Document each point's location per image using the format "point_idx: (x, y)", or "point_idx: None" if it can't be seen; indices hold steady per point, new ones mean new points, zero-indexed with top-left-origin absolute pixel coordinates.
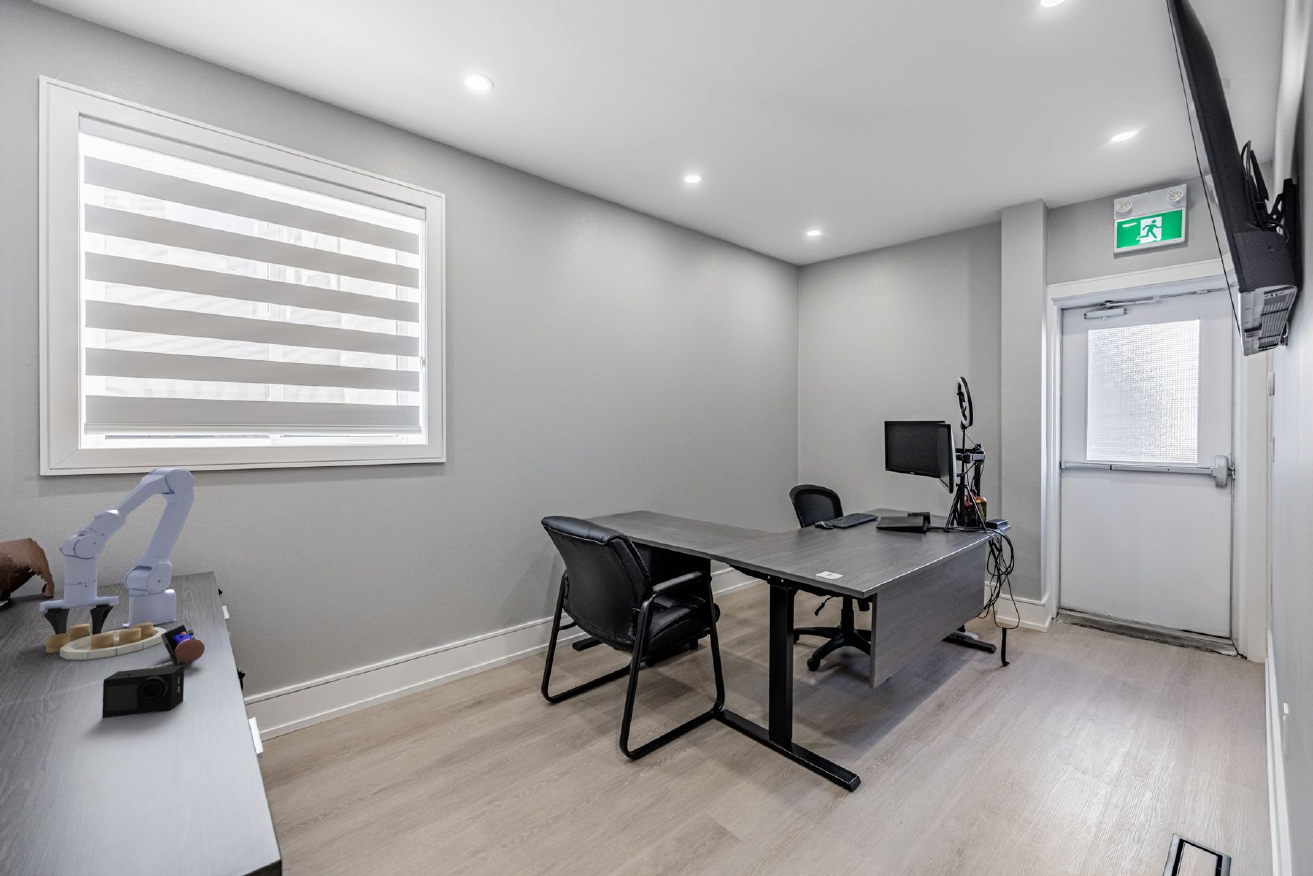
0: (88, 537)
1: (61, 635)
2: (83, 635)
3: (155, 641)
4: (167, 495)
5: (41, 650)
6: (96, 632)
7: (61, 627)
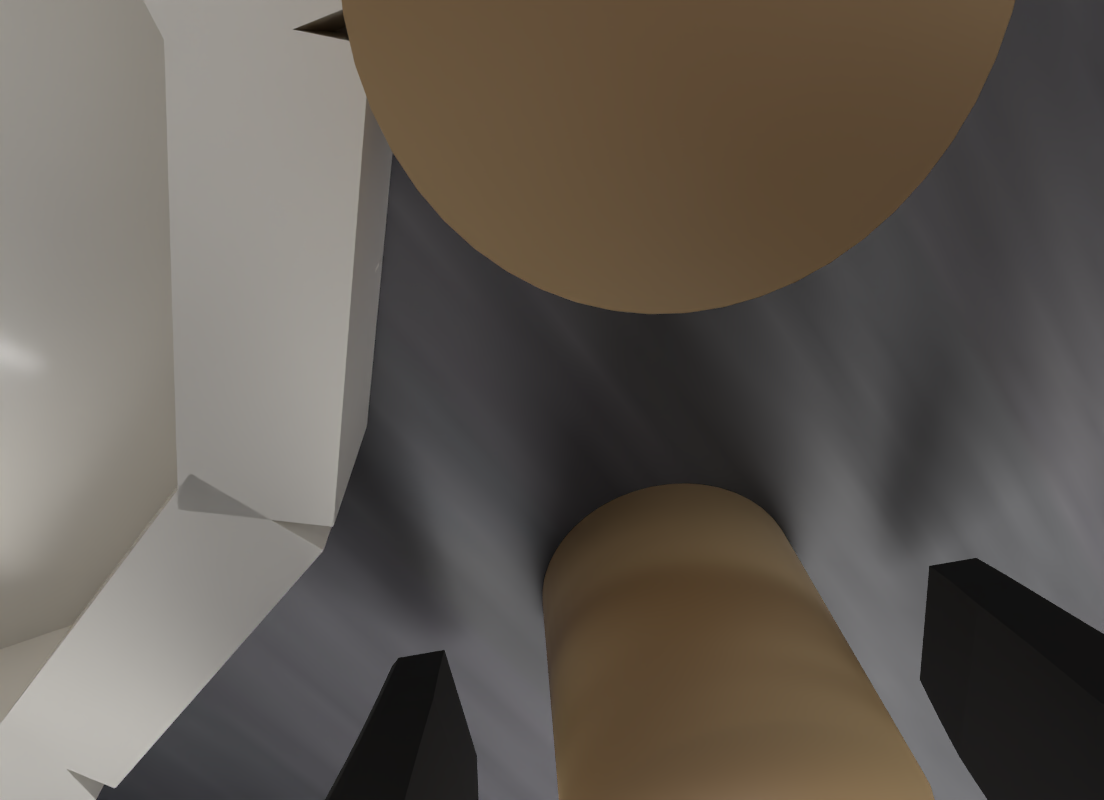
0: None
1: (596, 14)
2: (576, 639)
3: None
4: None
5: (1012, 238)
6: (373, 710)
7: (1086, 789)
